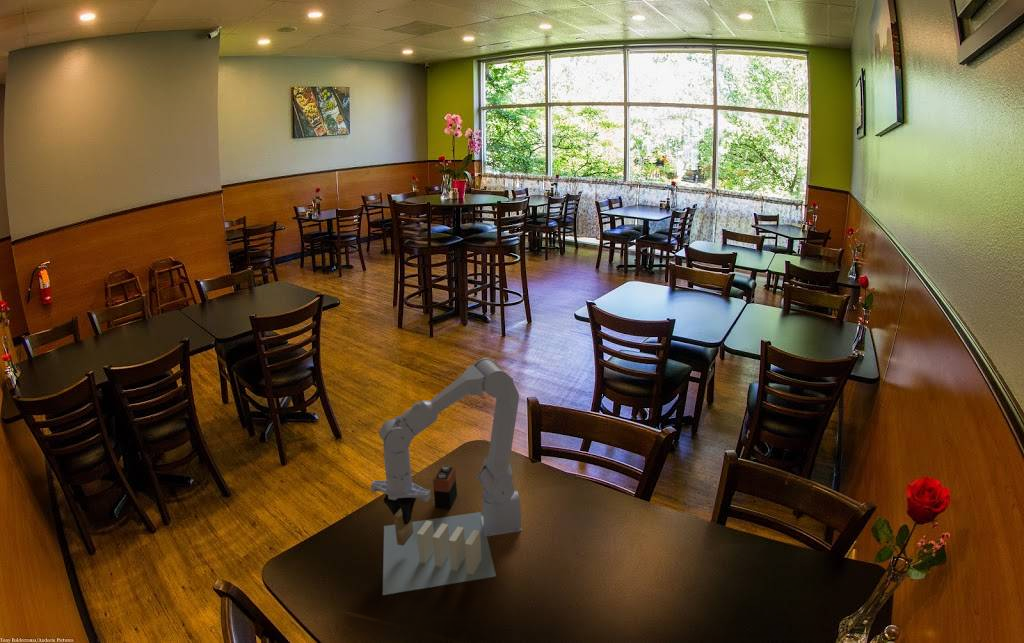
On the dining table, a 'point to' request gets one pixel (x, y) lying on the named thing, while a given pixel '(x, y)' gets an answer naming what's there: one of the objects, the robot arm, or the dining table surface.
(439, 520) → the mat
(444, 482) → the battery
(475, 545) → the domino
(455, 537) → the domino
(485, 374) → the robot arm
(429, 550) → the domino
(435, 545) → the domino
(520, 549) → the dining table surface
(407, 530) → the oak domino
